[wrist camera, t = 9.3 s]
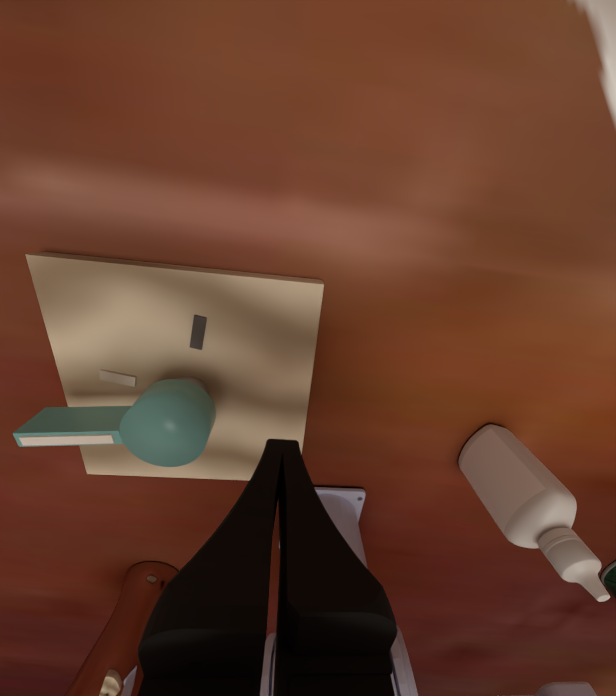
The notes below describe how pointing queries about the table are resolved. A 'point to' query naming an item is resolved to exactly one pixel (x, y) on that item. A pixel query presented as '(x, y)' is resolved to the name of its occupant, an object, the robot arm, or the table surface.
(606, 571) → the canned tomato
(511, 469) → the eye dropper bottle
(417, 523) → the table surface
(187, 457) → the knob
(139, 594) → the beer glass
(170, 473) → the post base
